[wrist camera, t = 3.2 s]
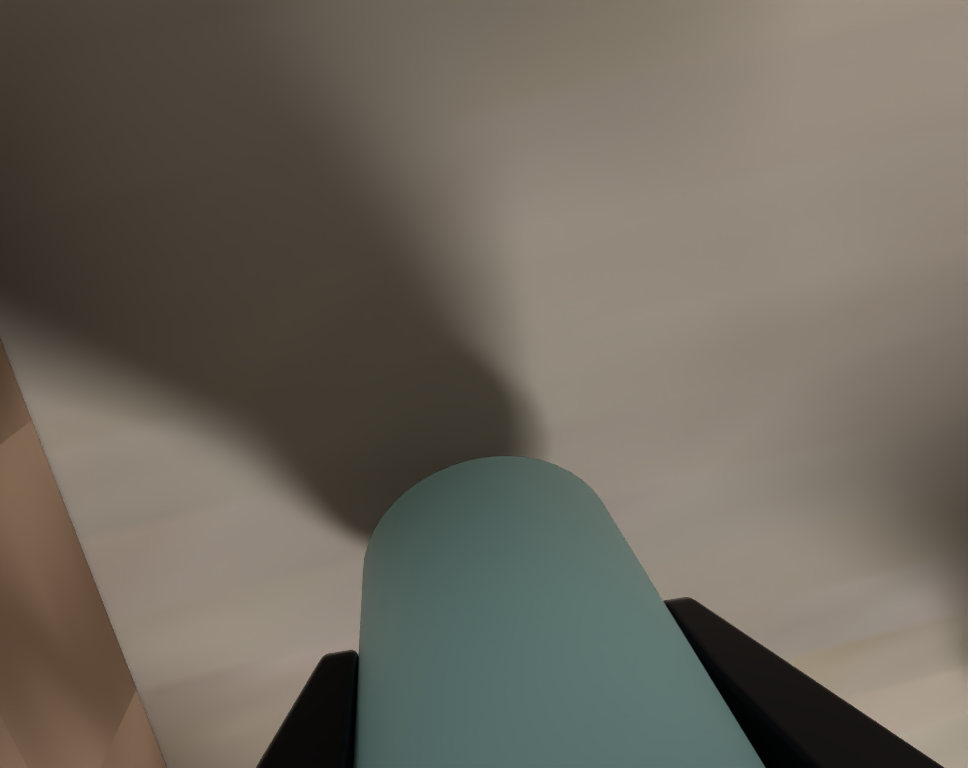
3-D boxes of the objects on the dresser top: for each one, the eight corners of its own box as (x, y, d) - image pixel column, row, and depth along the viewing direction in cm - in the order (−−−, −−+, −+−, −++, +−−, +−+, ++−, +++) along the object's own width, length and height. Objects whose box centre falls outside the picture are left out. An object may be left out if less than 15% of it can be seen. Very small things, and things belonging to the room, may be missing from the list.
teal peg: (608, 642, 10) (880, 1243, 5) (378, 679, 9) (369, 1412, 4) (621, 441, 8) (1058, 983, 3) (347, 473, 8) (261, 1203, 2)
